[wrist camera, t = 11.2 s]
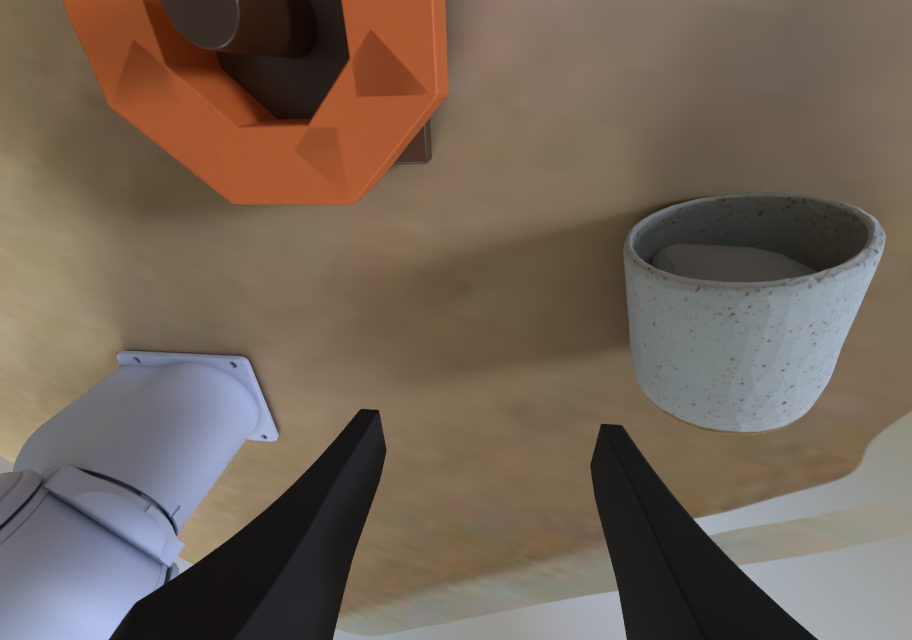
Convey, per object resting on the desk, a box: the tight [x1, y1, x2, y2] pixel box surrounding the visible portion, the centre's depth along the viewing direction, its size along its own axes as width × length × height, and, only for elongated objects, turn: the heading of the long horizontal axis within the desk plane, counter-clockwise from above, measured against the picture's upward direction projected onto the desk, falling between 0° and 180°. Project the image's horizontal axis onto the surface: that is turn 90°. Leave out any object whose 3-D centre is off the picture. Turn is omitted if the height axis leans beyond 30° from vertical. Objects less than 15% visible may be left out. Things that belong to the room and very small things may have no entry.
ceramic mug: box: [623, 192, 886, 435], centre depth 15 cm, size 11×8×8 cm
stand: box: [161, 0, 432, 164], centre depth 13 cm, size 10×10×6 cm
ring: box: [62, 0, 448, 204], centre depth 13 cm, size 12×12×3 cm
